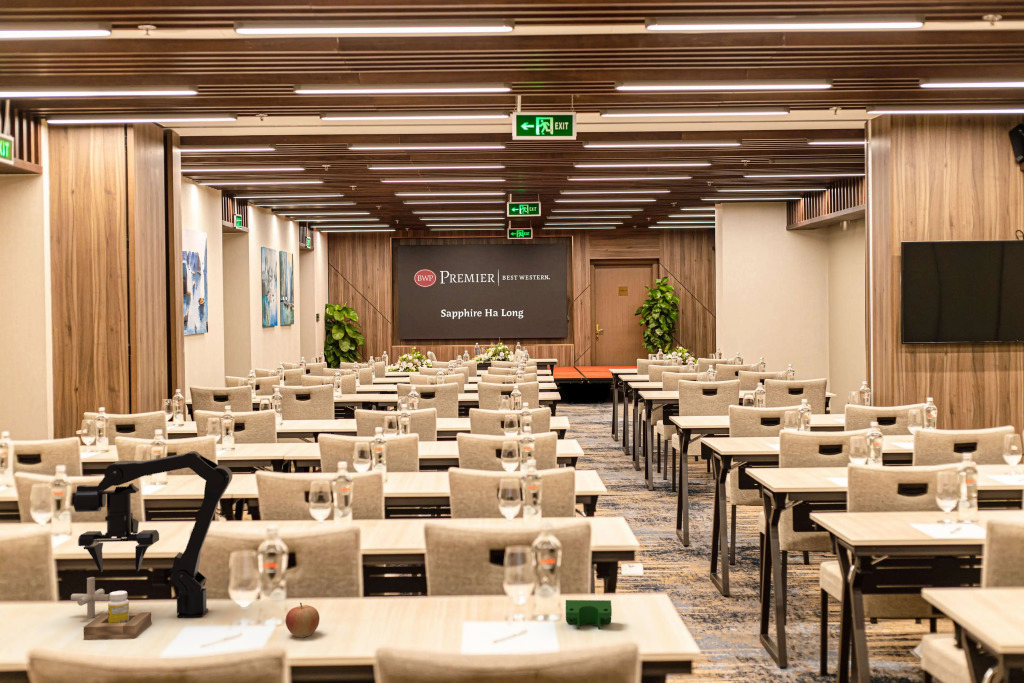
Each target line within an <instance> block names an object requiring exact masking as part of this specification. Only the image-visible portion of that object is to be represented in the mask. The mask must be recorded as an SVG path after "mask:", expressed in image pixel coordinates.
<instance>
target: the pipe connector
mask: <svg viewBox="0 0 1024 683" xmlns="http://www.w3.org/2000/svg"><path fill="white" fill-rule="evenodd" d="M95 578H96V577H94V576H90V577H86V593H72V594H71V595H70V600H71V602H73V601H76V602H77V605H79V606H84V605H86V606H87V607H86V608H87V609H86V614H87V615H86V616H87V618H89V619H91V618H96V602H109V601H110V593H108V594H106V593H105V589H103V588H99V589H97V590H96V587H95V586H96V579H95Z"/></svg>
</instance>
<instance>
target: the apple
mask: <svg viewBox="0 0 1024 683" xmlns="http://www.w3.org/2000/svg"><path fill="white" fill-rule="evenodd" d="M319 624H320V613H319V611H318V610H317V608H315V607H314V606H311V605H308V604H303V603H302V602H299V605H298V606H296V607H293V608H291V609H289V610H288V611H287V614H286V616H285V626H286V628H287V630H288V631H289V633H290V634H292V635H293V636H295V637H297V638H305V637H308V636H311V635H313V633H315V631H316V630H317V629H318V627H319Z"/></svg>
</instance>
